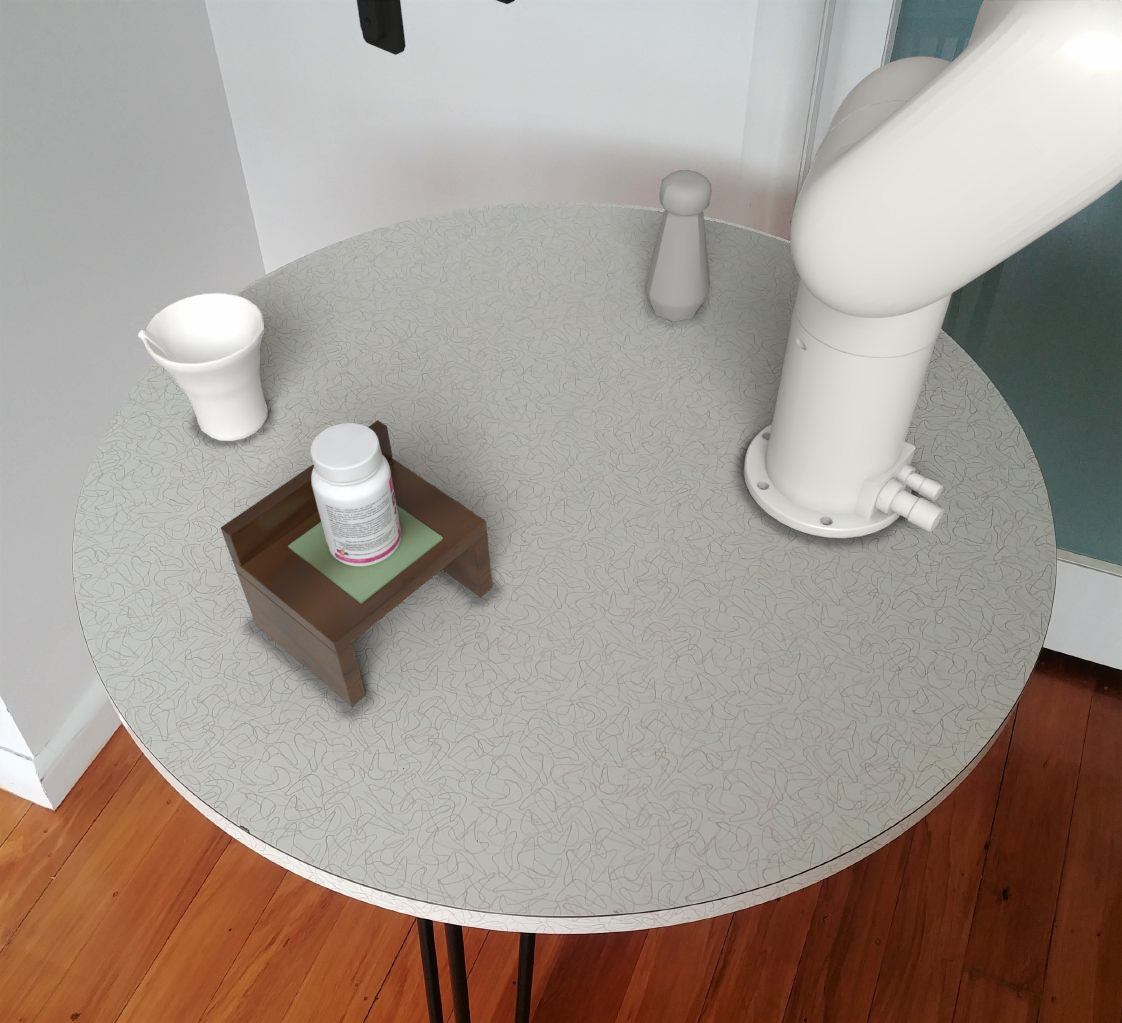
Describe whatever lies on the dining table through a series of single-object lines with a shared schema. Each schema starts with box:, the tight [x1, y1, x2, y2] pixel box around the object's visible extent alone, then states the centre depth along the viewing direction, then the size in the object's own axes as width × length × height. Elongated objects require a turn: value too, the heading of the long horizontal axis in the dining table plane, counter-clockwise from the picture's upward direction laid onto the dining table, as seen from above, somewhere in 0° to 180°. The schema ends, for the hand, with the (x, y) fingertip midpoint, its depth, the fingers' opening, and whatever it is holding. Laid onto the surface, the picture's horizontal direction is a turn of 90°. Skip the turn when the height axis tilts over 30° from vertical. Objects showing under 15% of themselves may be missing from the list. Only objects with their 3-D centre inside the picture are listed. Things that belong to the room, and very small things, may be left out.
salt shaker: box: [644, 169, 713, 323], centre depth 92 cm, size 6×6×13 cm
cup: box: [137, 292, 269, 442], centre depth 83 cm, size 9×9×10 cm
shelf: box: [220, 420, 493, 707], centre depth 70 cm, size 10×13×10 cm
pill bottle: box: [310, 422, 401, 566], centre depth 65 cm, size 5×5×8 cm
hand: (441, 21), depth 67 cm, fingers open, 9 cm apart
